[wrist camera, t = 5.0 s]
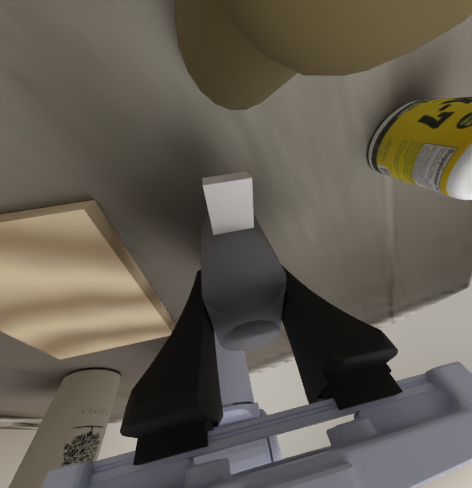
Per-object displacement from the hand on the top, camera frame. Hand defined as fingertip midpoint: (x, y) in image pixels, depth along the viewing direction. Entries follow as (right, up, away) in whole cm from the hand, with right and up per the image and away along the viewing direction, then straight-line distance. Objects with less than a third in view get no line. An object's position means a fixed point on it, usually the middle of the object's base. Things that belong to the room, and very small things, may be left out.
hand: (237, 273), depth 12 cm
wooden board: (-16, -3, +5) cm, 17 cm away
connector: (0, +2, +1) cm, 2 cm away
